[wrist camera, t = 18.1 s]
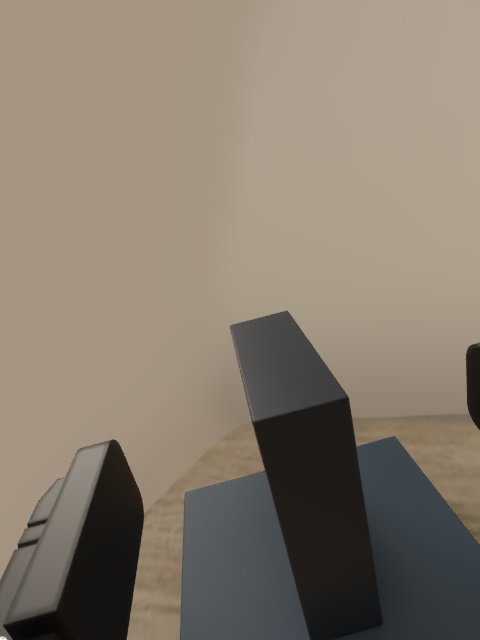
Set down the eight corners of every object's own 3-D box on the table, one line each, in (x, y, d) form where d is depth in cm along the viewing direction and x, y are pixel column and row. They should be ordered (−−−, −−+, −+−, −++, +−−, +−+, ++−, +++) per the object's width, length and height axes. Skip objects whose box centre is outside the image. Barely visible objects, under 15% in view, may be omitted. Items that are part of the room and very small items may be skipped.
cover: (201, 790, 11) (51, 519, 7) (198, 530, 19) (127, 338, 15) (547, 691, 11) (577, 378, 7) (399, 476, 19) (377, 274, 15)
